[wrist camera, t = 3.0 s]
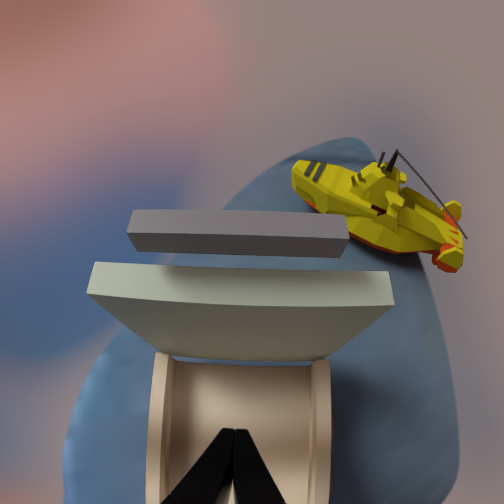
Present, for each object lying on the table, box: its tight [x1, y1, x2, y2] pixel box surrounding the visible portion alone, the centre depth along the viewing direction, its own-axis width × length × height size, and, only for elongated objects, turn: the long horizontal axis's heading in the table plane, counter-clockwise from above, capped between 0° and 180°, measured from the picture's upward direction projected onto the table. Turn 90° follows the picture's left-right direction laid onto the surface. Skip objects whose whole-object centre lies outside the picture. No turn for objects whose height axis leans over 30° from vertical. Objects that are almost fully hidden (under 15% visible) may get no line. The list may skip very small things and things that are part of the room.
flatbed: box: [146, 352, 335, 504], centre depth 14 cm, size 12×11×5 cm
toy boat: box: [292, 149, 467, 273], centre depth 22 cm, size 6×18×10 cm, turn 63°
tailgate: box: [87, 209, 394, 361], centre depth 12 cm, size 2×10×12 cm, turn 88°
